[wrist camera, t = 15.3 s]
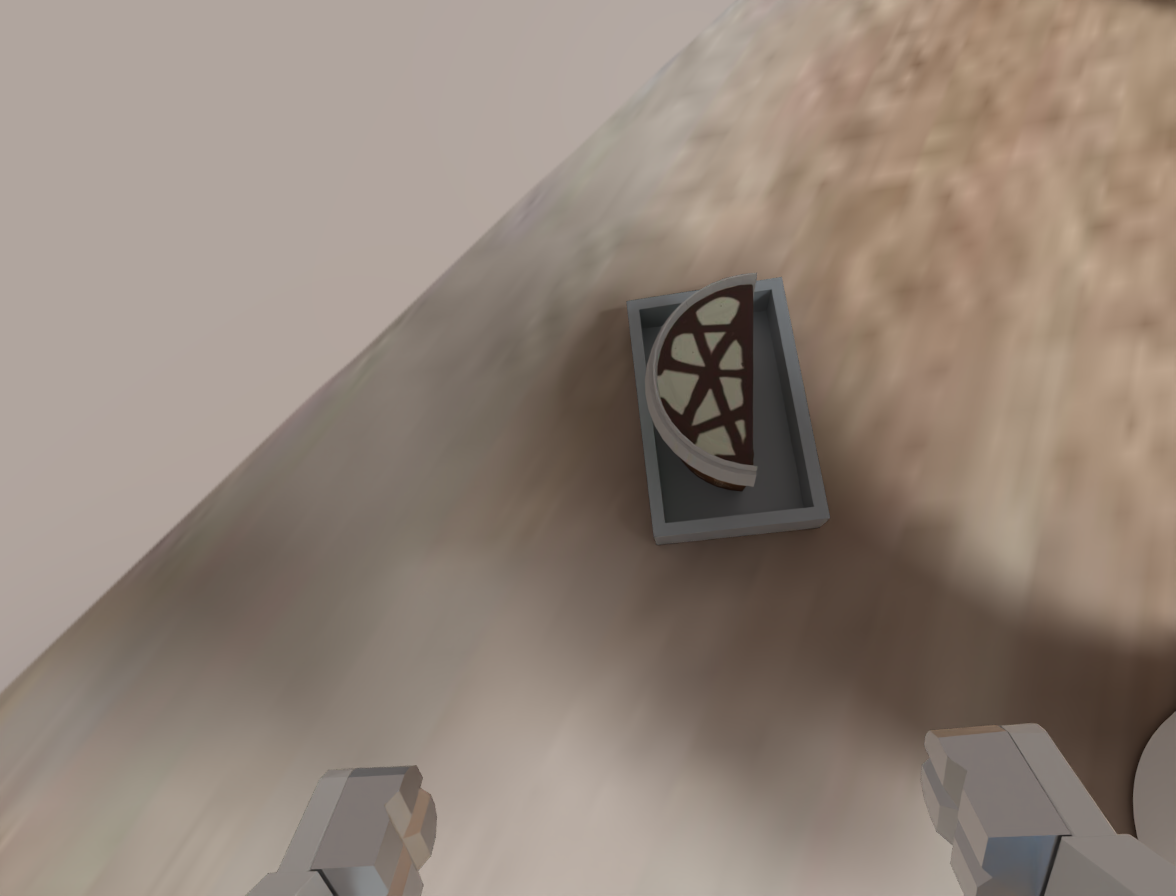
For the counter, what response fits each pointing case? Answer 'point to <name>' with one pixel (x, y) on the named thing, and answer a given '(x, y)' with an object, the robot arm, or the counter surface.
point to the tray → (779, 436)
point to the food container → (708, 382)
